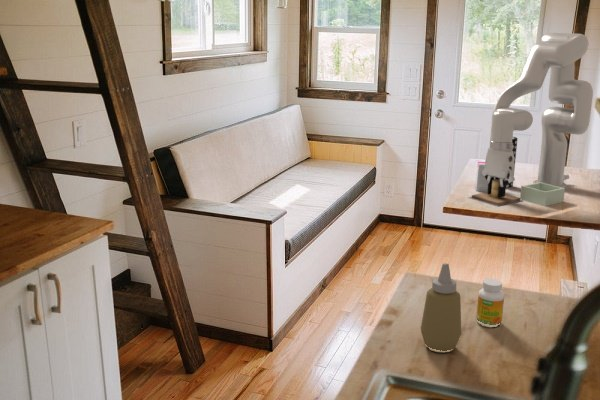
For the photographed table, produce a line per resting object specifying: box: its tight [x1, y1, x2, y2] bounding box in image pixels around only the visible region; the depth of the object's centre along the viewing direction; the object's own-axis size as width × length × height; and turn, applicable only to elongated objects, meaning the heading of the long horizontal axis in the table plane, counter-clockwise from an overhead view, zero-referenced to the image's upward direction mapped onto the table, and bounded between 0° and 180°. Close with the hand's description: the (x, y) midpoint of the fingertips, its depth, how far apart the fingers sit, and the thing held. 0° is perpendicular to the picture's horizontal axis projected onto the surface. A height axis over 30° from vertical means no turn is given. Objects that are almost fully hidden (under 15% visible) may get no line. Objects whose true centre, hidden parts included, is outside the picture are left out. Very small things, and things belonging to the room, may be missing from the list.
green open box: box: [519, 182, 566, 207], centre depth 234 cm, size 11×11×6 cm
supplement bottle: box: [475, 278, 505, 325], centre depth 140 cm, size 5×5×10 cm
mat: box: [467, 196, 523, 208], centre depth 236 cm, size 14×14×1 cm
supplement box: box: [474, 161, 492, 193], centre depth 247 cm, size 6×6×12 cm
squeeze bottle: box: [420, 262, 462, 351], centre depth 128 cm, size 8×8×18 cm
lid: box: [471, 179, 521, 207], centre depth 234 cm, size 12×12×7 cm
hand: (496, 194), depth 235 cm, fingers open, 4 cm apart
